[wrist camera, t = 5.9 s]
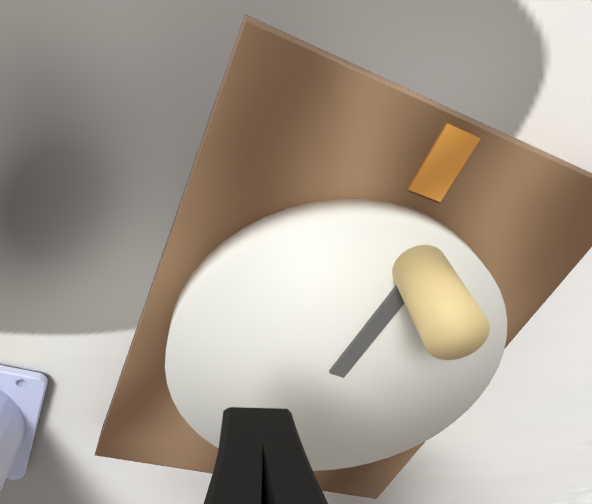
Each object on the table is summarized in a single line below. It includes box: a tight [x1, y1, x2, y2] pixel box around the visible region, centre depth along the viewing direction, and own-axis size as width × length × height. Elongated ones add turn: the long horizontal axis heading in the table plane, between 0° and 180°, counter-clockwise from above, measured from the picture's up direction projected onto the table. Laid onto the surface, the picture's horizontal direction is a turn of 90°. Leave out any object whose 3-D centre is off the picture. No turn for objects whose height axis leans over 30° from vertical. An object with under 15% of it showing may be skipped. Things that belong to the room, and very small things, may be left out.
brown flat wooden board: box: [95, 15, 592, 499], centre depth 22 cm, size 16×21×2 cm
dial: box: [165, 199, 507, 471], centre depth 19 cm, size 14×14×5 cm
